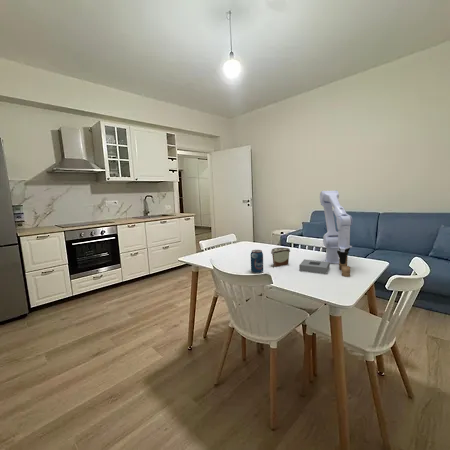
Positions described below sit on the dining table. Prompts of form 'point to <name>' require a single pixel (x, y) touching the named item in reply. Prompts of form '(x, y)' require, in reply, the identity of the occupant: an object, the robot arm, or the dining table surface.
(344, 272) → the short pin
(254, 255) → the soda can
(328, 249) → the robot arm
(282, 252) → the food container
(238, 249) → the dining table surface
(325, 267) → the hole plate
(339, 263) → the tall pin
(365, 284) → the dining table surface
